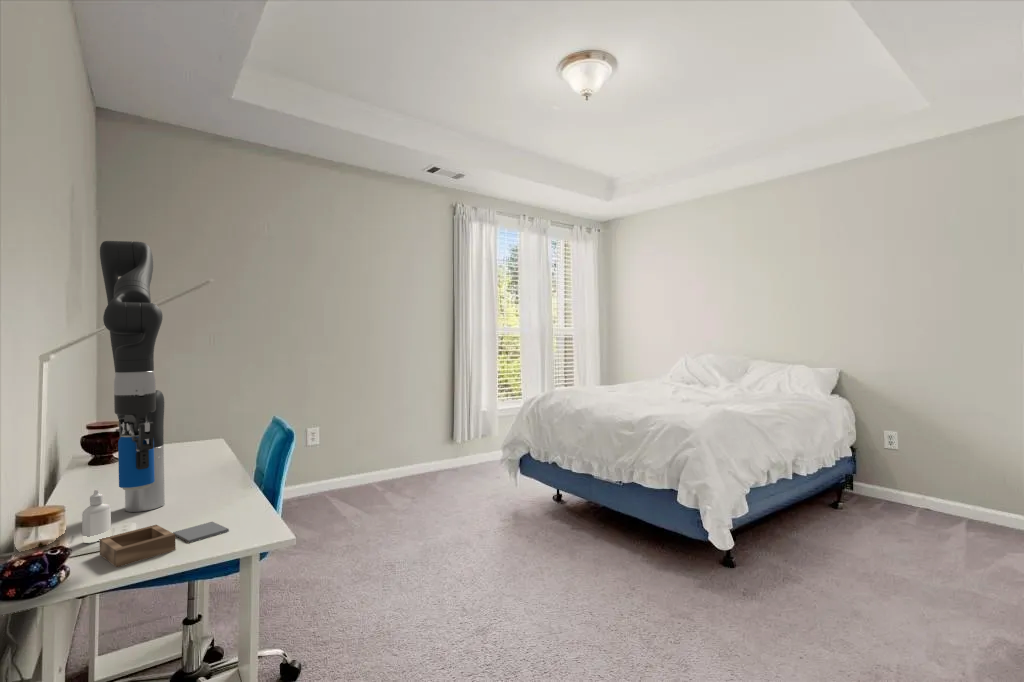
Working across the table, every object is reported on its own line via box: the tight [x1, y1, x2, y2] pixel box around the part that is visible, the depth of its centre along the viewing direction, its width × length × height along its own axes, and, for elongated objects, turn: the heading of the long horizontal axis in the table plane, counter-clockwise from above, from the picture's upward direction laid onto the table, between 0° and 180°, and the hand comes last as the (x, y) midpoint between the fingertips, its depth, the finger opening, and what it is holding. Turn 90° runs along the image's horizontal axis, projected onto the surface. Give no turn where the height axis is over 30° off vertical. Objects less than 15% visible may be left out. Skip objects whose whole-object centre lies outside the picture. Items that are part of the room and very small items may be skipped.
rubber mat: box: [172, 521, 230, 543], centre depth 128 cm, size 9×9×1 cm
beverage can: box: [117, 434, 155, 491], centre depth 117 cm, size 6×6×12 cm
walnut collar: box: [99, 524, 177, 568], centre depth 117 cm, size 11×11×4 cm
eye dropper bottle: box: [81, 488, 112, 537], centre depth 124 cm, size 4×6×12 cm
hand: (136, 466), depth 117 cm, fingers closed on beverage can, 6 cm apart
